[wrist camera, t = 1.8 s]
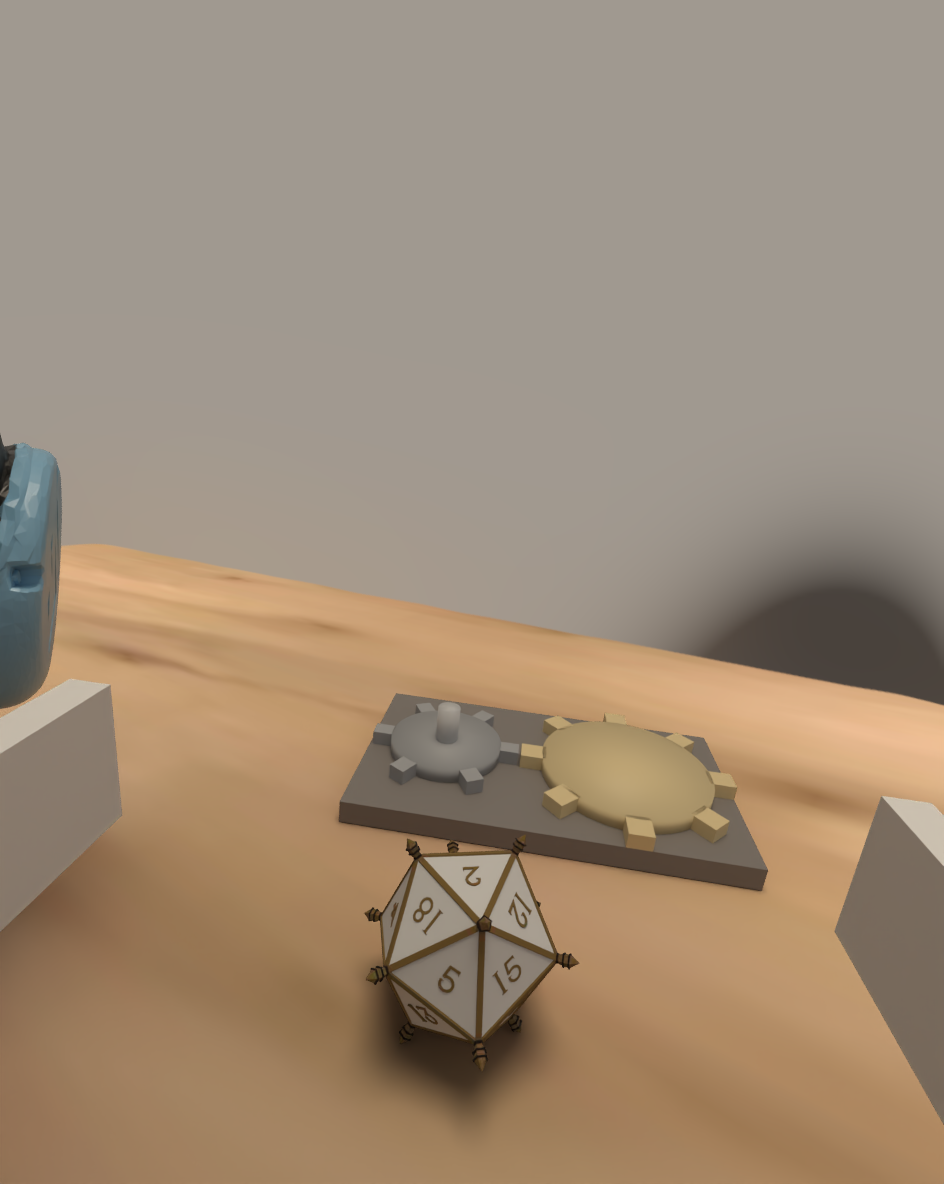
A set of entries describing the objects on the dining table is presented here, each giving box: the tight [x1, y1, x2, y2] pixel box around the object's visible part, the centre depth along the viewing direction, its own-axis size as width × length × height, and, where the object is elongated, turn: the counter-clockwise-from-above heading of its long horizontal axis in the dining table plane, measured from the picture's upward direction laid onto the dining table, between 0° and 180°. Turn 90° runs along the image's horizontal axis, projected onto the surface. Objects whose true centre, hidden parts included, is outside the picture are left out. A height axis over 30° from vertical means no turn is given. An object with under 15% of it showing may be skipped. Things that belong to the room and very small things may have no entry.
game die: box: [365, 834, 579, 1072], centre depth 26 cm, size 9×8×10 cm
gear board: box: [339, 693, 768, 891], centre depth 43 cm, size 26×15×5 cm, turn 84°
